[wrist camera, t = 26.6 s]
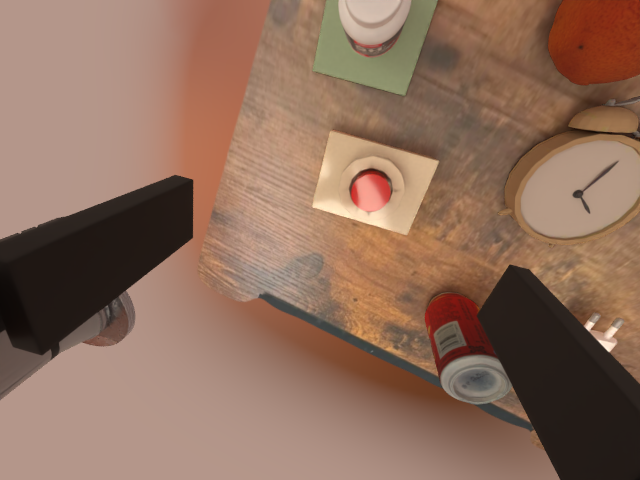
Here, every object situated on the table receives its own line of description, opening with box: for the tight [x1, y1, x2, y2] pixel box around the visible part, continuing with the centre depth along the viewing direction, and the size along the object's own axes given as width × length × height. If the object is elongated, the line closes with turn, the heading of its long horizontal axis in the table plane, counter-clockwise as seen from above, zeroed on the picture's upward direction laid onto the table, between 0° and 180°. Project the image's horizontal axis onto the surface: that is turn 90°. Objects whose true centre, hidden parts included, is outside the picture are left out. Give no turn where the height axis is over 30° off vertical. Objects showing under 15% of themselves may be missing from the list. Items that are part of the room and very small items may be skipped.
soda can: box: [425, 292, 512, 404], centre depth 34 cm, size 7×7×12 cm
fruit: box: [548, 0, 640, 85], centre depth 21 cm, size 9×9×8 cm
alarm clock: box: [498, 96, 640, 248], centre depth 28 cm, size 11×5×15 cm
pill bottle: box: [338, 0, 411, 58], centre depth 22 cm, size 5×5×10 cm
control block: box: [312, 129, 439, 235], centre depth 32 cm, size 12×9×4 cm
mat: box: [313, 0, 438, 96], centre depth 27 cm, size 10×10×1 cm
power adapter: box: [584, 312, 625, 352], centre depth 35 cm, size 11×5×6 cm, turn 171°
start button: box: [351, 171, 390, 212], centre depth 29 cm, size 4×4×2 cm
